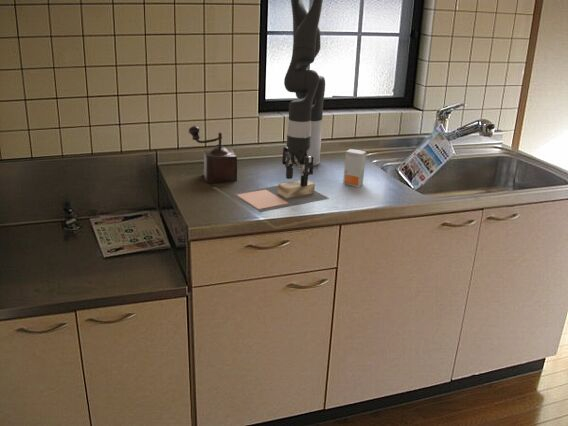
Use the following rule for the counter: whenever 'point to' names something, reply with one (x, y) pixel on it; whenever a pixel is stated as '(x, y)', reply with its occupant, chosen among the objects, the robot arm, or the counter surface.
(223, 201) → the counter surface
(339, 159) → the counter surface
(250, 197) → the rubber mat
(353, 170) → the skincare box
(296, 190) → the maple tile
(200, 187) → the counter surface
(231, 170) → the manual coffee grinder
